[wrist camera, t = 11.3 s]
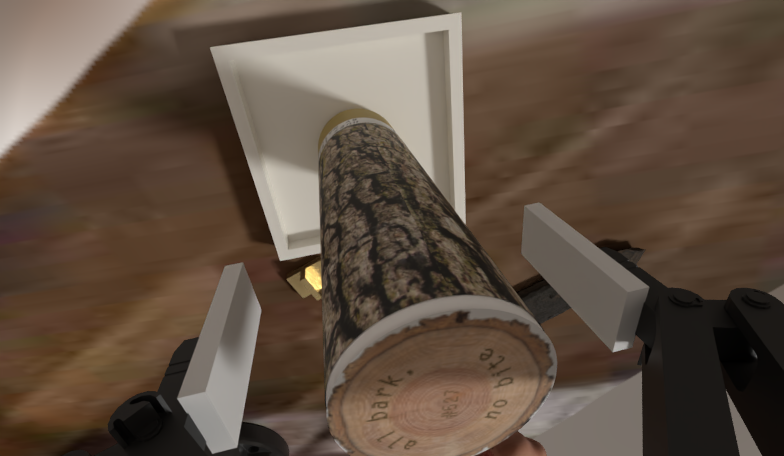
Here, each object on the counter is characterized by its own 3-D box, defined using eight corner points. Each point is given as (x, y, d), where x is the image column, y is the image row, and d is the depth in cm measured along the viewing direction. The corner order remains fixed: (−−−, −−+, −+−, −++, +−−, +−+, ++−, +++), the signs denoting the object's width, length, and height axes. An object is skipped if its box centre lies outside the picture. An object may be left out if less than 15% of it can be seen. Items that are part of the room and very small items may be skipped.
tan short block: (303, 291, 40) (302, 308, 38) (287, 272, 38) (285, 289, 36) (335, 273, 40) (336, 289, 37) (319, 254, 38) (320, 269, 36)
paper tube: (320, 185, 33) (332, 486, 12) (314, 106, 30) (315, 324, 8) (395, 181, 34) (531, 449, 13) (397, 105, 31) (585, 294, 9)
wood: (485, 346, 50) (495, 364, 47) (467, 312, 46) (477, 330, 43) (638, 270, 48) (657, 284, 46) (632, 228, 44) (652, 241, 42)
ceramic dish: (282, 246, 36) (280, 261, 34) (217, 45, 27) (209, 47, 25) (457, 212, 38) (465, 224, 36) (450, 13, 29) (461, 12, 27)
